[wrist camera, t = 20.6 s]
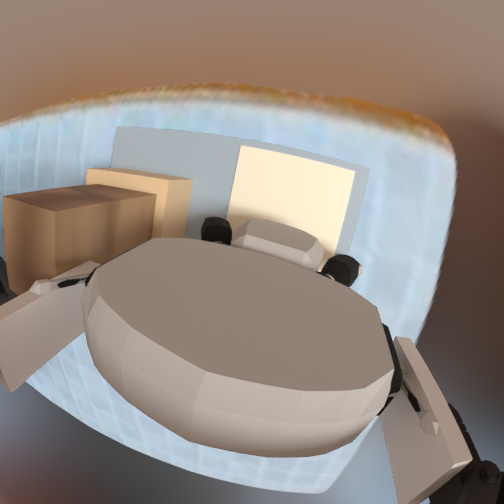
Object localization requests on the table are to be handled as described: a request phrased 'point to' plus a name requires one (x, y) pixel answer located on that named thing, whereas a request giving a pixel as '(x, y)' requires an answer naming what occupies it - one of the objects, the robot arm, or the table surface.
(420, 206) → the table surface
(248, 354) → the robot toy
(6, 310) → the robot arm
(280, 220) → the board
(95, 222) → the walnut block
